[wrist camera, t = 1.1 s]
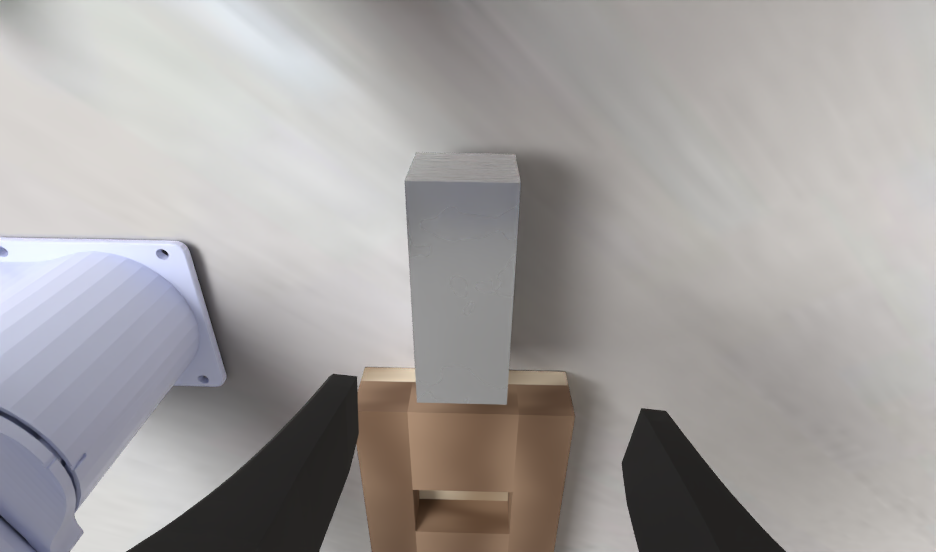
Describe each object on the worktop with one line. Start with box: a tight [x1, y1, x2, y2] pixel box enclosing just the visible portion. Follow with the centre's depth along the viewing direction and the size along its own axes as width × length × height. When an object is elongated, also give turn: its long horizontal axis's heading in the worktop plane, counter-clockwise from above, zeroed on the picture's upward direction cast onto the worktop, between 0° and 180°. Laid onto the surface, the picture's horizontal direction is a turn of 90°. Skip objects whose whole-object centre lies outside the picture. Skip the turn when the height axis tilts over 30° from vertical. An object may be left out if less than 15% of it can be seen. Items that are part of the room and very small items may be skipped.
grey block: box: [405, 152, 521, 405], centre depth 20 cm, size 4×9×5 cm, turn 0°
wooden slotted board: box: [356, 367, 575, 552], centre depth 29 cm, size 10×20×3 cm, turn 179°
